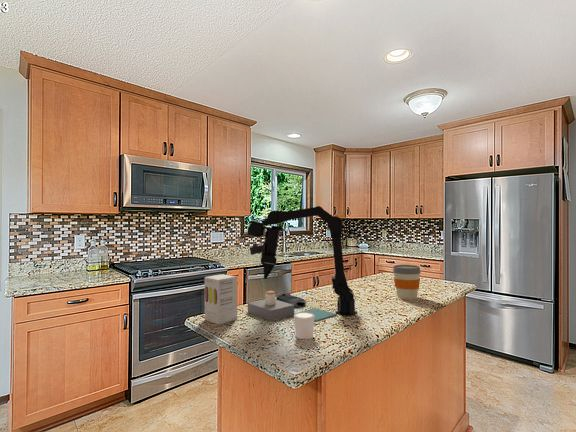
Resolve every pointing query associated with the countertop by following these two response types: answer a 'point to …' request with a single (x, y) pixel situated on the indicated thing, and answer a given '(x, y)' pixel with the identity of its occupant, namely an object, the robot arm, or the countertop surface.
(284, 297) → the electronic device
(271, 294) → the plug
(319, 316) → the mat
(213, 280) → the supplement box
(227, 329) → the countertop surface
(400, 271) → the reusable coffee cup
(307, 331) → the white cylinder
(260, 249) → the robot arm
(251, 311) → the grey flat block
